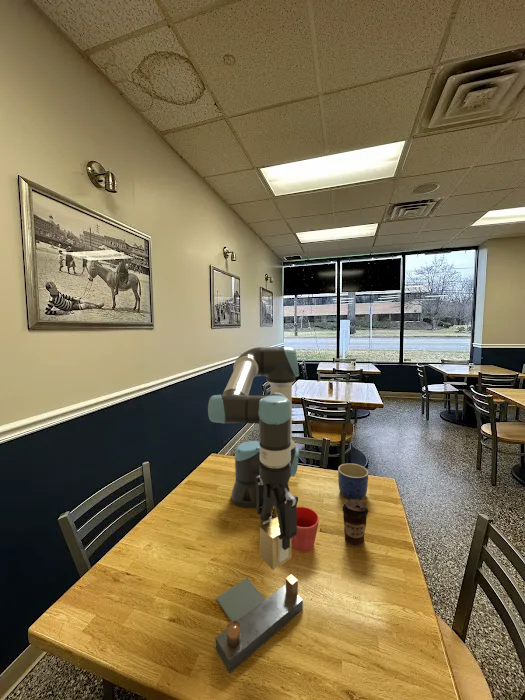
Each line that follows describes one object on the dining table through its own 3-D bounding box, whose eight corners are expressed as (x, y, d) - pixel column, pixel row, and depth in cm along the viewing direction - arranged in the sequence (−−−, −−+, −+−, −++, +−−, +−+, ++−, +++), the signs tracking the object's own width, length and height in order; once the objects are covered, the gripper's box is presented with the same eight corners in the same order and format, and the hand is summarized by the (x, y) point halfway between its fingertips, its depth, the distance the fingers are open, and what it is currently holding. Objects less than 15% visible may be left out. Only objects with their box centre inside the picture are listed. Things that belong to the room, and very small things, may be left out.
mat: (216, 599, 78) (216, 597, 78) (246, 579, 84) (246, 577, 84) (236, 630, 70) (236, 627, 70) (268, 605, 76) (268, 603, 76)
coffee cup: (369, 552, 93) (370, 514, 92) (342, 548, 95) (343, 511, 94) (365, 533, 102) (366, 498, 101) (341, 530, 104) (341, 495, 103)
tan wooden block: (272, 570, 68) (272, 538, 67) (259, 556, 72) (259, 526, 71) (291, 557, 72) (291, 527, 71) (278, 545, 76) (277, 516, 75)
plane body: (229, 673, 61) (228, 643, 61) (215, 649, 66) (214, 620, 65) (302, 610, 75) (302, 585, 74) (286, 593, 79) (286, 569, 79)
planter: (370, 491, 128) (371, 467, 127) (363, 506, 117) (364, 480, 116) (342, 483, 134) (343, 460, 133) (334, 497, 124) (334, 472, 123)
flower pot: (322, 537, 100) (322, 510, 100) (313, 560, 90) (314, 531, 90) (292, 528, 105) (292, 503, 104) (282, 550, 95) (282, 522, 94)
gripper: (241, 452, 74) (242, 537, 77) (289, 482, 60) (289, 585, 62) (264, 445, 79) (264, 525, 81) (313, 471, 65) (313, 567, 67)
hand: (275, 551), depth 72 cm, fingers closed on tan wooden block, 5 cm apart
